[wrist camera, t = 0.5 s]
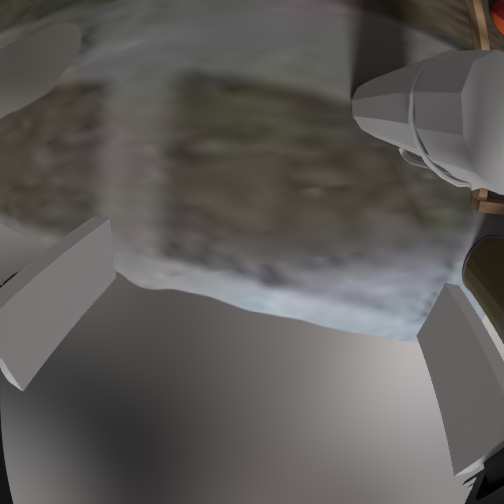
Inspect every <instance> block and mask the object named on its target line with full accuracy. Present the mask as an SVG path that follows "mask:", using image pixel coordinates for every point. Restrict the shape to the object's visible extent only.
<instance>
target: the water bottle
mask: <svg viewBox="0 0 504 504" xmlns="http://www.w3.org/2000/svg"><path fill="white" fill-rule="evenodd" d="M351 103H352V114H353V117H354V119H355V120H356V122H357V123H358V125H359V126H360V128H361V129H362V130H364V131H365V132H367V133H369V134H371V135H373V136H374V137H376V138H379V139H382V140H384V141H387V142H389V143H391V144H394V145H396V146H399V147H400V148H399V151H400V153H401V155H402V157H403V158H404V159H405V160H406V161H407V162H409V163H410V164H413V165H417V166H420V167H424V168H428V169H431V170H433V171H434V172H435V173H436V174H438V175H439V176H440V177H441V178H443V179H444V180H446V181H448V182H450V183H452V184H454V185H456V186H457V187H466V186H468V187H469V188H470V189H471V190H472V191H473V190H476V189H479V188H482V187H483V188H485V189H488V190H490V191H493V192H495V193H498V194H500V195H504V52H501V51H498V50H471V51H447V52H443V53H440V54H438V55H436V56H434V57H432V58H429V59H426V60H423V61H420V62H417V63H414V64H411V65H409V66H406V67H403V68H400V69H398V70H395V71H392V72H390V73H387V74H384V75H382V76H379V77H377V78H374V79H372V80H369V81H368V82H366V83H364V84H363V85H361V86H359V87H358V88H357V90H356V92H355V94H354V96H353V98H352V100H351ZM407 150H408V151H410V152H412V153H415V154H417V155H419V156H421V157H422V158H423V160H424V162H425V163H423V162H419V161H416V160H415V159H413V158H412V157H410V155H409V154H408V153H407ZM433 162H434V163H436V164H438V165H440V166H441V167H439V166H436V165H435V164H434V163H433ZM442 167H443V168H442ZM447 174H448V175H447ZM449 175H452V176H454V177H456V178H458V179H461V180H457V179H455V178H452V177H450V176H449Z"/></svg>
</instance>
